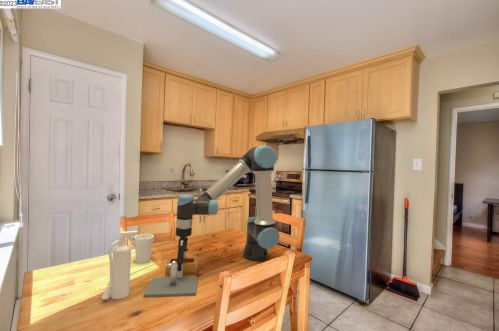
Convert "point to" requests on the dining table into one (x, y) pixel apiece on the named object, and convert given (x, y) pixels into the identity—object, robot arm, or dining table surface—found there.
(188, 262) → the framed display niche
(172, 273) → the hook
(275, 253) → the dining table surface
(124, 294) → the fire extinguisher
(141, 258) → the foam cup
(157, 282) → the keeper plate
